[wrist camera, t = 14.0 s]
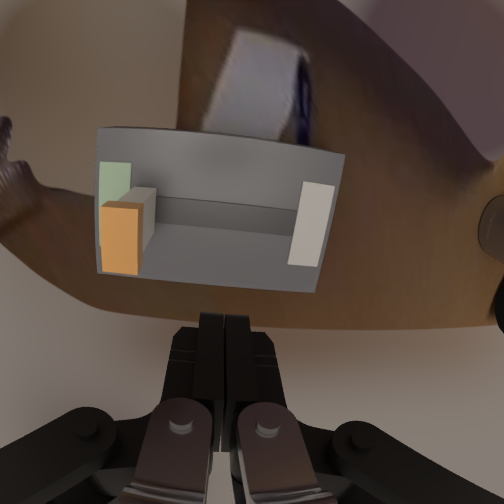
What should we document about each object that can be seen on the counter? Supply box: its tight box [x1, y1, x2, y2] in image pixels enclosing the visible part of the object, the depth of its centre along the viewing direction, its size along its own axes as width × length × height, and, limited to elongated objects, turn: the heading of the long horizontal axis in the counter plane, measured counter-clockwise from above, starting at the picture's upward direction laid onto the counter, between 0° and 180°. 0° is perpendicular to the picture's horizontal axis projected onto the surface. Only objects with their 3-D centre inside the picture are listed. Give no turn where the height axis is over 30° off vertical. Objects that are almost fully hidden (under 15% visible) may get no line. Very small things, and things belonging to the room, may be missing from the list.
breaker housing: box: [95, 126, 345, 293], centre depth 30 cm, size 22×14×5 cm, turn 82°
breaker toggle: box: [100, 186, 157, 275], centre depth 23 cm, size 3×5×8 cm, turn 172°
